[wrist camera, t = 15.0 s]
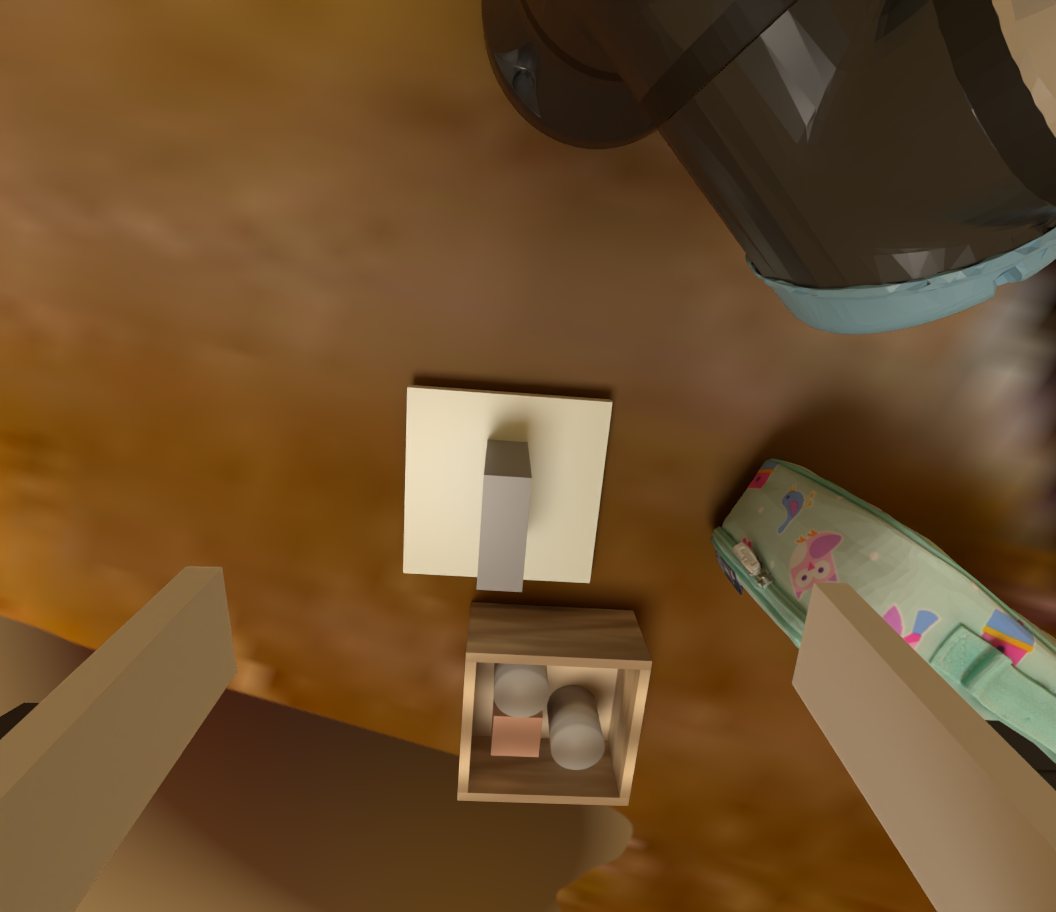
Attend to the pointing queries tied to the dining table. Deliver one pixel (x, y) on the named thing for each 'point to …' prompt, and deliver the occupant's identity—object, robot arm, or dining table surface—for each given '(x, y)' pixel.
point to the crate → (551, 704)
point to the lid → (503, 485)
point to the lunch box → (888, 591)
